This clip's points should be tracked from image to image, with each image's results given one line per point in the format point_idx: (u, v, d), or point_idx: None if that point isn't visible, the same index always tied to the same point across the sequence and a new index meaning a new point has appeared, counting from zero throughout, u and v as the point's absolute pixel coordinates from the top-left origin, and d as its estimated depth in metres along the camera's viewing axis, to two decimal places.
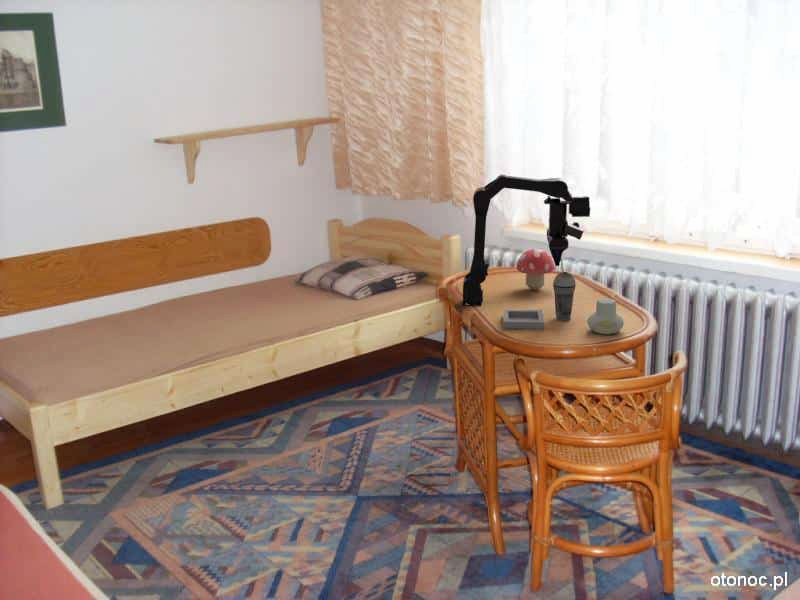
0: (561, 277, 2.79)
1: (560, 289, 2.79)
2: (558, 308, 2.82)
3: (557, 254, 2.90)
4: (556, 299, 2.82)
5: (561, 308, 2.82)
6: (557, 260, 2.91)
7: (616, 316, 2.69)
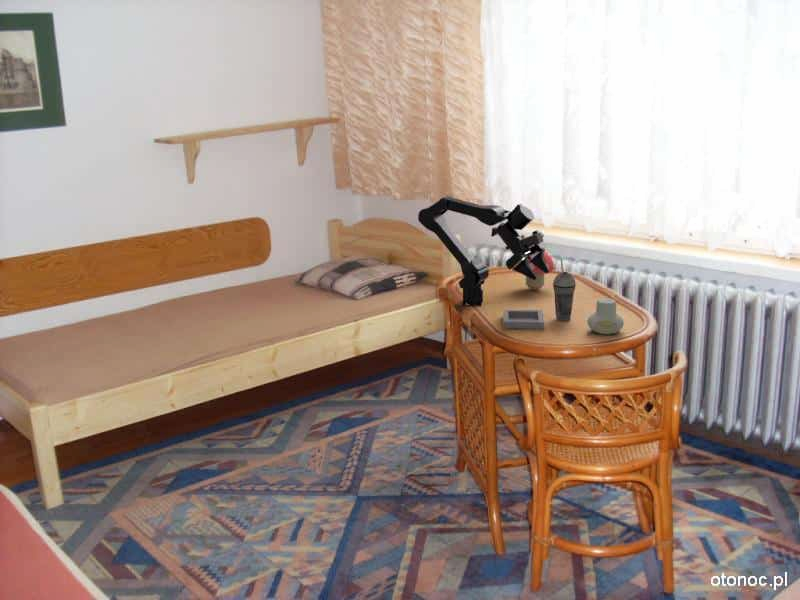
0: (561, 277, 2.79)
1: (560, 289, 2.79)
2: (558, 308, 2.82)
3: (525, 269, 2.82)
4: (556, 299, 2.82)
5: (561, 308, 2.82)
6: (530, 274, 2.82)
7: (616, 316, 2.69)
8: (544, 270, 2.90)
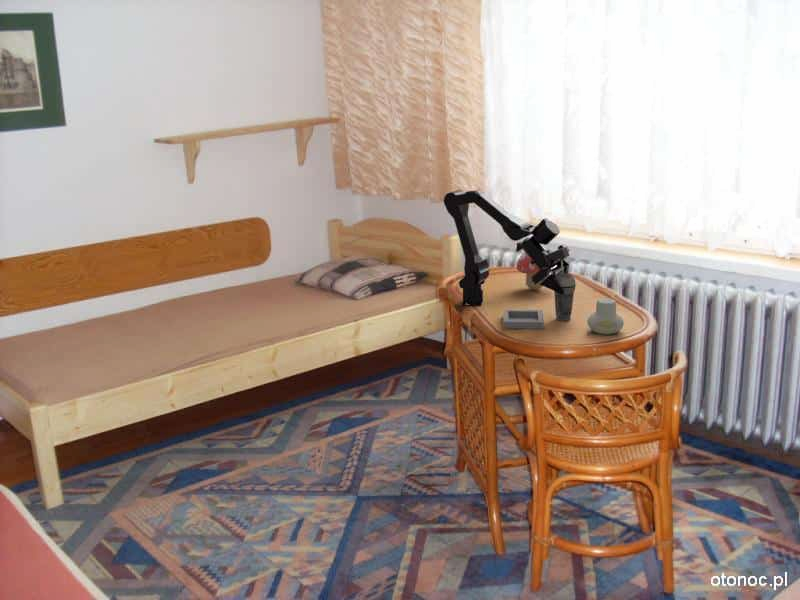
0: (562, 277, 2.79)
1: None
2: (558, 307, 2.82)
3: (553, 284, 2.79)
4: (556, 299, 2.82)
5: (561, 308, 2.82)
6: (557, 289, 2.79)
7: (616, 316, 2.69)
8: None
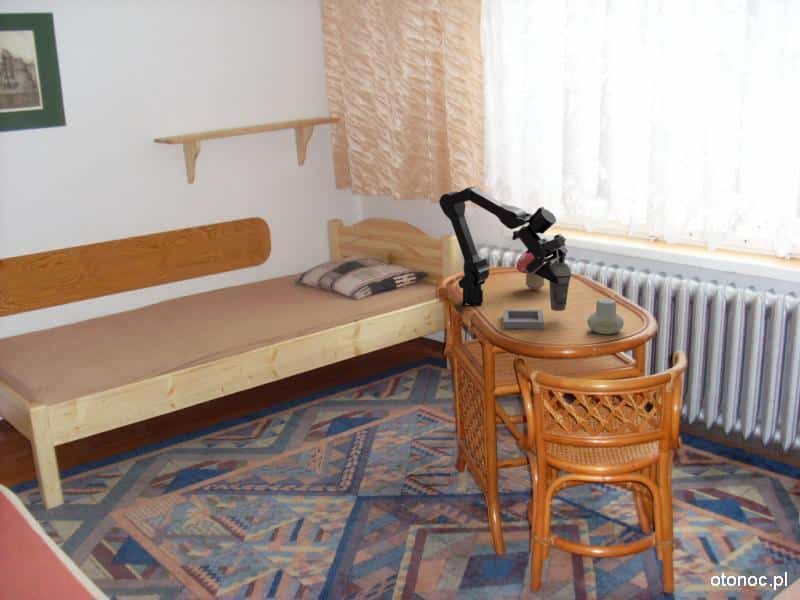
0: (556, 266, 2.78)
1: None
2: (552, 297, 2.81)
3: (547, 274, 2.77)
4: (551, 289, 2.81)
5: (556, 298, 2.80)
6: (552, 278, 2.77)
7: (616, 316, 2.69)
8: None
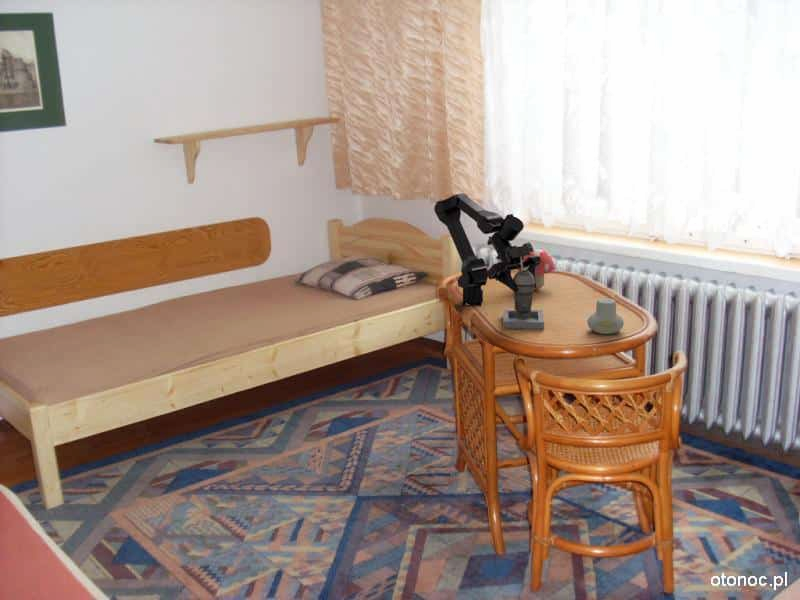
0: (518, 275, 2.76)
1: None
2: (515, 305, 2.80)
3: (508, 281, 2.77)
4: (514, 296, 2.80)
5: (517, 306, 2.79)
6: (512, 286, 2.76)
7: (616, 316, 2.69)
8: None
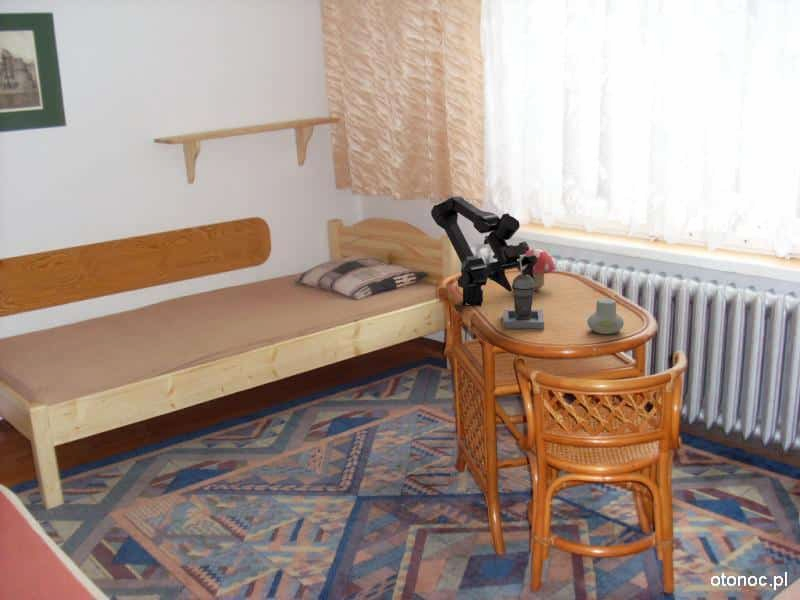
0: (518, 278, 2.76)
1: (515, 290, 2.77)
2: (515, 309, 2.80)
3: (502, 280, 2.78)
4: (514, 300, 2.80)
5: (517, 310, 2.79)
6: (506, 286, 2.77)
7: (616, 316, 2.69)
8: None
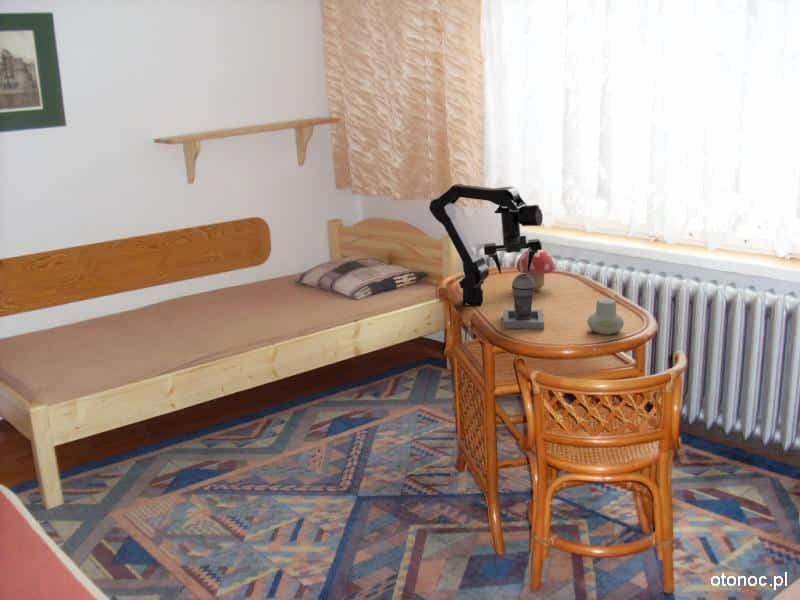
0: (518, 278, 2.77)
1: (515, 290, 2.77)
2: (515, 309, 2.80)
3: None
4: (514, 300, 2.80)
5: (517, 310, 2.79)
6: (497, 267, 2.93)
7: (616, 316, 2.69)
8: (527, 267, 2.92)
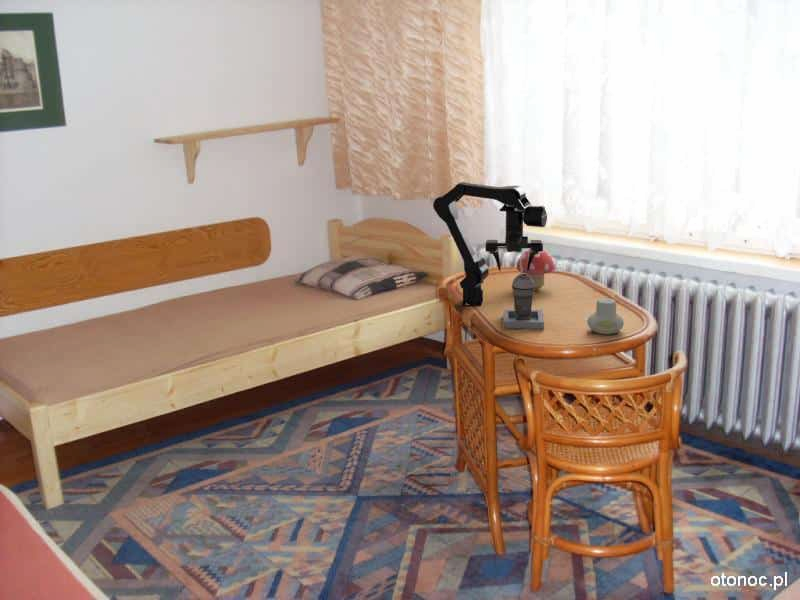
0: (518, 278, 2.77)
1: (515, 290, 2.77)
2: (515, 309, 2.80)
3: None
4: (514, 300, 2.80)
5: (517, 310, 2.79)
6: (497, 264, 2.94)
7: (616, 316, 2.69)
8: (527, 267, 2.93)
